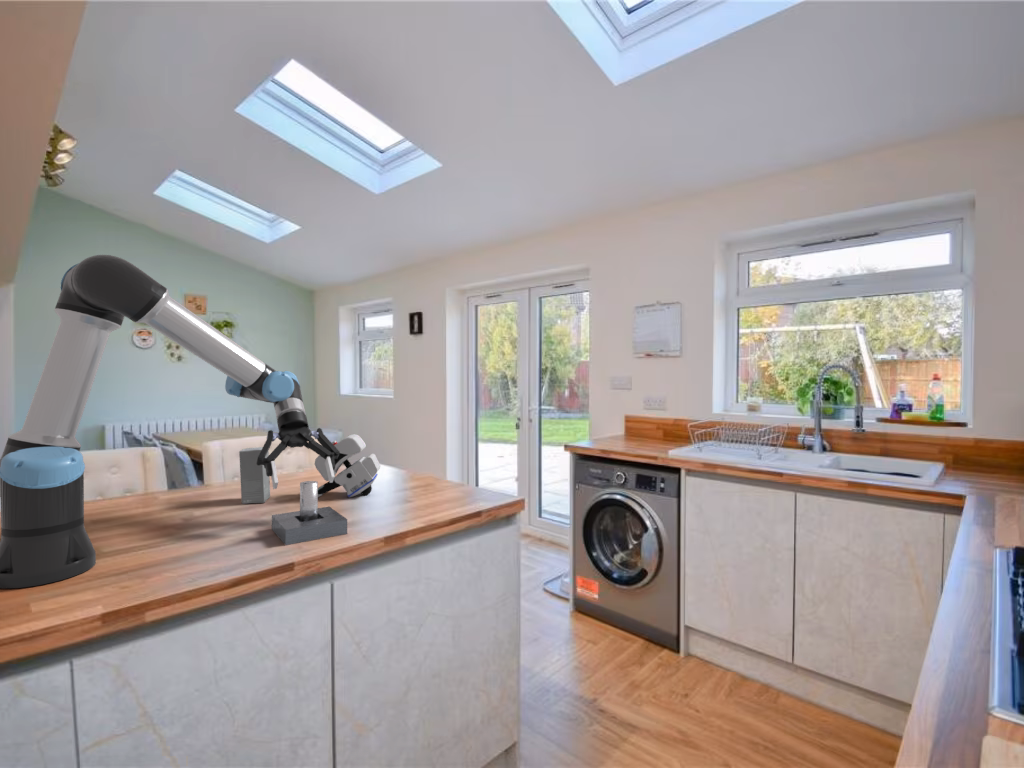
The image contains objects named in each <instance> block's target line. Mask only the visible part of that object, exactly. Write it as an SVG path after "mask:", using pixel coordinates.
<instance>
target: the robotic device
mask: <svg viewBox="0 0 1024 768" xmlns="http://www.w3.org/2000/svg"><path fill="white" fill-rule="evenodd" d="M331 443H332V444H333V445H334V446H335V447H336V448H337V449H338V450H339V451H340V453H339V456H338V459H334V461H335V465H336V466H335V469H334V470H333V471H334V475H335V478H334V480H333V483H330V482H329V478H328V474H327V470H326V465H325V461H326V459H324V458H323V457H321V456H320V455H317V457H316V458H315V460H314V466H315V469H316V470H317V471H318V473H319V474H320V476H321V477H322V478H323V479H324V481H325V482H326V483H323V484H322V485H320V486H318V498H319V497H321V496H323V495H324V494H327V493H328V492H331V491H333V490H335V489H337V488H339V487H343V489H344V490H345V491H346V493H347V494H346V496H347V497H348V498H352V497H355V496H358V495H360V494H361V495H362V496H363V495H364V496H367V495H369V494H371V492H372V490H373V487H372V485H373V483H374V482H375V480H376V478H377V477H378V471H380V469H381V464H380V462H379V460H378V458H377V455H376V454H375V453H371V454H369V455H367V456H366V457H365V456H362V457H360V459H357V461H355V462H353V463H351V461H350V460H348V459H349V458H351V457H353V456H355V455H357V454H360V453H361V452H362V451H363V450H364V449H366V448H367V447H366V446H367V445H366V443H365V441H364V440H363V439H362V437H361V436H360V435H358V434H354V433H352V434H350V435H348V436H346V437H344V438H343V439H341V440H340V441H338V442H337V440H333V441H332V442H331ZM342 465H344V467H345V468H344V469H343V470H342V471H340V472H338V471H339V469H340V468H341V466H342ZM337 473H338V474H337ZM336 474H337V475H336Z"/></svg>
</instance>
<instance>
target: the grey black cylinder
mask: <svg viewBox="0 0 1024 768" xmlns="http://www.w3.org/2000/svg"><path fill="white" fill-rule="evenodd" d="M318 483H319V482H318V481H317V480H305V481H301V482H300V483H299V511H300V522H303V521H309V520H316V519H318V508H319V507H318V506H319V505H318V502H319V500H318V498H319V497H318V488H319V485H318Z"/></svg>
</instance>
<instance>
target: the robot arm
mask: <svg viewBox="0 0 1024 768" xmlns="http://www.w3.org/2000/svg"><path fill="white" fill-rule="evenodd" d="M53 311H54V312H55V313H56V314H57V316H58V318H59V321H60V322H59V325H58V327H57V330H56V333H55V336H54V338H53V341H52V344H51V347H50V349H49V353H48V356H47V358H46V361H45V364H44V366H43V369H42V372H41V375H40V378H39V381H38V384H37V385H36V389H35V390H34V391H35V392H34V394H33V397H32V400H31V402H30V406H29V409H28V412H27V413H26V417H25V420H24V422H23V425H22V428H21V429H20V430H18V431H16V432H14V433H12V434H10V435H8V438H7V440H6V443H5V445H4V448H3V451H2V454H1V457H0V529H1V530H0V531H1V532H0V589H19V588H22V589H23V588H30V587H35V586H42V585H45V584H46V585H47V584H51V583H54V582H59V581H62V580H66V579H69V578H73V577H75V576H77V575H80V574H82V573H85V572H87V571H89V570H91V569H92V568H93V567H94V566H95V565H96V561H97V560H96V558H97V556H96V554H97V553H96V550H95V548H94V546H93V543H92V541H91V538H90V536H89V535H88V532H87V530H86V528H85V493H84V492H85V490H84V489H85V488H84V487H85V486H84V485H85V482H84V480H85V479H84V473H85V470H86V469H85V468H86V464H85V462H84V456H83V454H82V453H81V452H80V451H81V447H82V445H81V444H80V443H79V441H78V440H77V438H76V435H77V431H78V429H79V425H80V422H81V421H82V420H81V419H82V417H83V414H84V411H85V408H86V405H87V403H88V399H89V397H90V393H91V391H92V387H93V384H94V382H95V379H96V376H97V373H98V370H99V366H100V364H101V361H102V359H103V355H104V352H105V348H106V345H107V343H108V339H109V337H110V334H111V333H112V332H114V331H117V330H118V329H121V328H122V325H123V322H124V319H125V317H126V318H127V319H129V320H131V321H132V322H133V323H135V324H146V325H147V326H149V327H151V328H152V329H154V330H155V331H157V332H159V333H160V334H161V335H163V336H164V337H166V338H168V339H170V341H172V342H174V343H176V344H177V345H179V346H180V347H182V348H183V349H185V350H187V351H188V352H189V353H192V354H193V355H194V356H196V357H198V358H199V359H201V360H202V361H204V362H206V363H207V364H208V365H210V366H211V367H214V368H215V369H216V370H218V371H219V372H221V373H222V374H225V375H226V376H227V377H226V380H225V385H224V389H225V391H226V393H227V394H228V395H231V396H235V397H237V398H245V399H249V400H253V401H254V400H255V401H260V402H265V403H270V404H273V407H274V411H275V417H276V418H275V419H276V421H277V422H276V423H277V427H278V428H277V429H278V432H274V431H273V430H272V429H271V430H268V431H267V435H266V441H265V442H264V445H263V446H262V447H263V448H262V450H261V452H260V454H259V456H258V459H257V463H256V464H257V465H264V468H266V475H267V476H269V477H271V478H270V479H271V483H272V489H273V490H277V489H278V485H279V479H278V472H277V467H276V462H275V461H276V459H277V458H278V457H279V456H280V455H281V453H283V451H285V450H286V449H287V448H290V449H293V448H303V447H305V448H306V449H310V450H311V451H312V452H314V453H316V455H317V456H319V455H320V456H321V457H323V458H324V459H326V461H325V465H326V470H327V474H328V478H329V481H328V482H330V483H333V480H334V478H335V477H336V474H335V475H334V471H333V470H334V469H335V466H336V465H335V461H334V459H338V456H339V453H340V451H339V450H338V449H337V448H336V447H335V446H334V445H333V444H332V442H331V440H329V438H328V437H327V436H326V435H325V434H324V432H323V429H322V428H320V427H318V428H317V429H316V430H310V427H309V421H308V418H307V414H306V409H305V405H304V401H303V396H302V392H301V391H302V390H301V385H300V382H299V380H298V379H299V378H298V377H297V375H296V374H294V373H293V372H291V371H288V370H285V371H279V370H275V368H273V367H271V366H270V365H268V364H267V363H265V362H264V361H262V360H261V359H260V358H258V357H257V356H255V355H254V354H253V353H252V352H250V351H248V350H247V349H245V348H244V347H242V346H241V345H239V344H238V343H236V342H235V341H234V340H233V339H231V338H230V337H228V336H227V335H225V334H224V333H222V332H221V331H220V330H219V329H218V328H215V327H214V326H212V325H211V324H209V323H208V321H207V322H206V321H205V320H204V319H202V318H201V317H200V316H198V315H197V314H195V313H194V312H193V311H191V310H189V309H188V307H185V306H184V305H183V304H181V303H180V302H178V301H177V300H175V299H174V298H172V297H171V296H170V294H169V289H168V288H167V287H165V286H164V285H163V284H162V283H160V282H158V281H157V280H156V279H154V278H153V277H151V276H150V275H149V274H147V273H146V272H144V271H143V270H142V269H140V268H139V267H137V266H136V265H134V264H133V263H131V262H129V261H128V260H126V259H125V258H124V259H123V258H122V257H118V256H115V255H111V254H95V255H92V256H89V257H87V258H84V259H82V260H81V261H80V262H78V263H76V264H74V265H72V266H71V267H70V268H69V269H67V270H66V271H65V273H64V274H63V275H62V278H61V281H60V294H59V296H58V299H57V302H56V305H55V307H54V310H53ZM276 439H278V440H279V441H280V442H279V444H278V445H277V446H276V447H275V448H274V449H273V450H272V451H271V453H269V456H268V457H267V458H265V456H266V454H267V452H268V450H269V451H270V448H271V445H272V444H273V442H274V441H276ZM316 440H317V441H316Z"/></svg>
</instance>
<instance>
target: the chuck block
mask: <svg viewBox="0 0 1024 768" xmlns="http://www.w3.org/2000/svg"><path fill="white" fill-rule="evenodd" d="M271 530H272V531H273V532H274V533H275V535H276V536H277V537H278V538H279V539H280V540H281V542H282V543H283V544H284V546H288V545H293V544H299V543H300V544H301V543H304V542H310V541H316V540H320V538H322V539H327V538H331V536H332V537H337V536H342V535H348V519H347V518H346V517H345V516H343V515H342V514H341V513H339V512H337V510H335V509H333V508H332V507H330V506H324V507H318V519H316V520H309V521H303V522H300V510H298V511H290V512H284V513H278V514H277V513H275V514H271ZM326 537H327V538H326ZM315 539H316V540H315Z"/></svg>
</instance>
